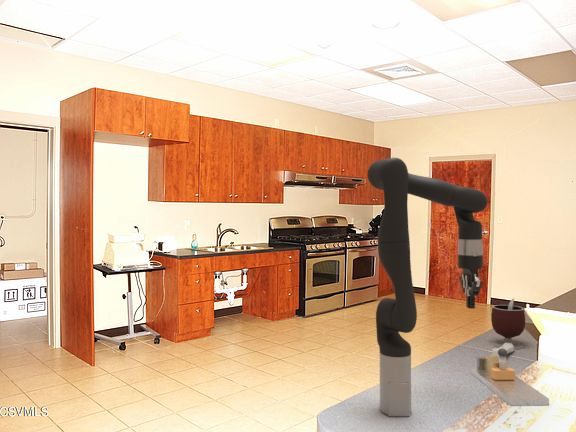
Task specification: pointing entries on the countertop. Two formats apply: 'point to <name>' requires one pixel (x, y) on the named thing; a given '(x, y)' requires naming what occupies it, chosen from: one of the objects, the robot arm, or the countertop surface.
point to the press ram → (502, 368)
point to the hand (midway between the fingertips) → (470, 308)
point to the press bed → (510, 388)
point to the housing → (491, 363)
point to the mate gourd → (508, 323)
